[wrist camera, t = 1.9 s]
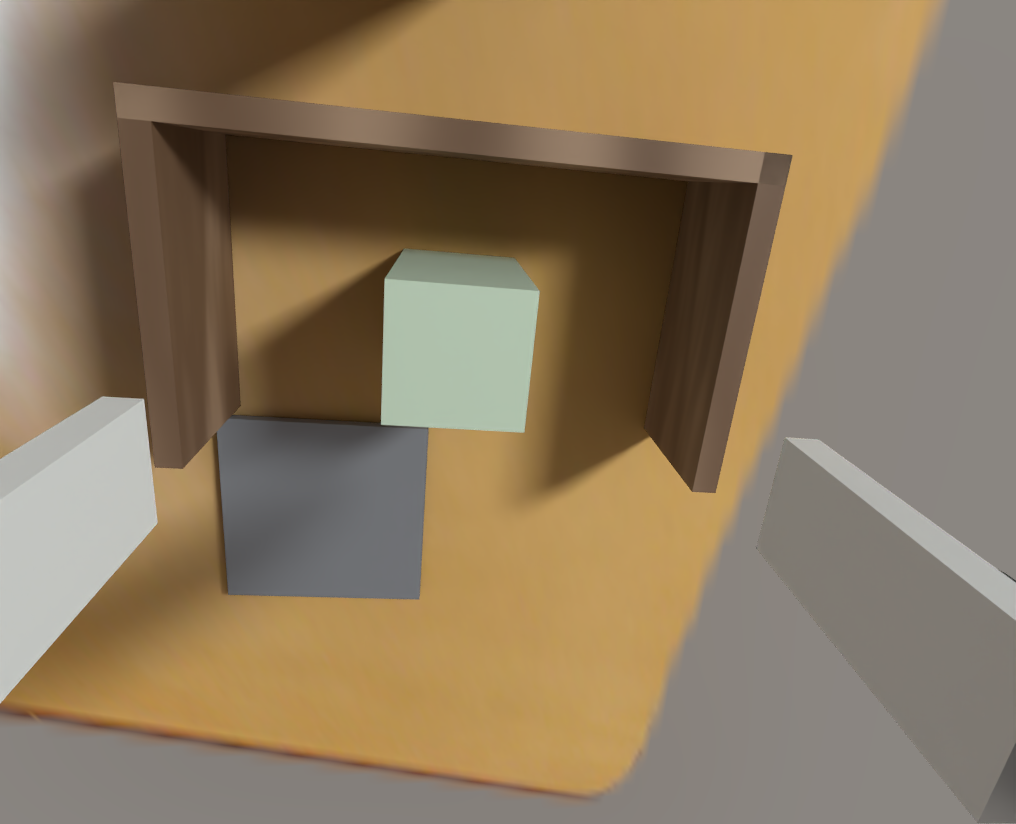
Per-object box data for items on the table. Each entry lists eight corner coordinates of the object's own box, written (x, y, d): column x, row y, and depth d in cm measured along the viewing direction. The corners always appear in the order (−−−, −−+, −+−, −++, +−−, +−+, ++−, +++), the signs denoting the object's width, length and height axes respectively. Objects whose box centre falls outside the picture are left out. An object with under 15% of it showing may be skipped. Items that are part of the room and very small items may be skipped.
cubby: (218, 404, 30) (155, 467, 24) (198, 105, 26) (113, 81, 19) (662, 429, 33) (715, 492, 26) (713, 159, 28) (792, 155, 22)
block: (400, 355, 30) (381, 424, 22) (404, 248, 29) (384, 278, 20) (504, 362, 31) (524, 432, 22) (514, 257, 29) (539, 291, 21)
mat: (231, 588, 34) (228, 594, 33) (219, 414, 30) (215, 417, 30) (419, 593, 35) (419, 599, 35) (428, 425, 32) (428, 429, 31)
